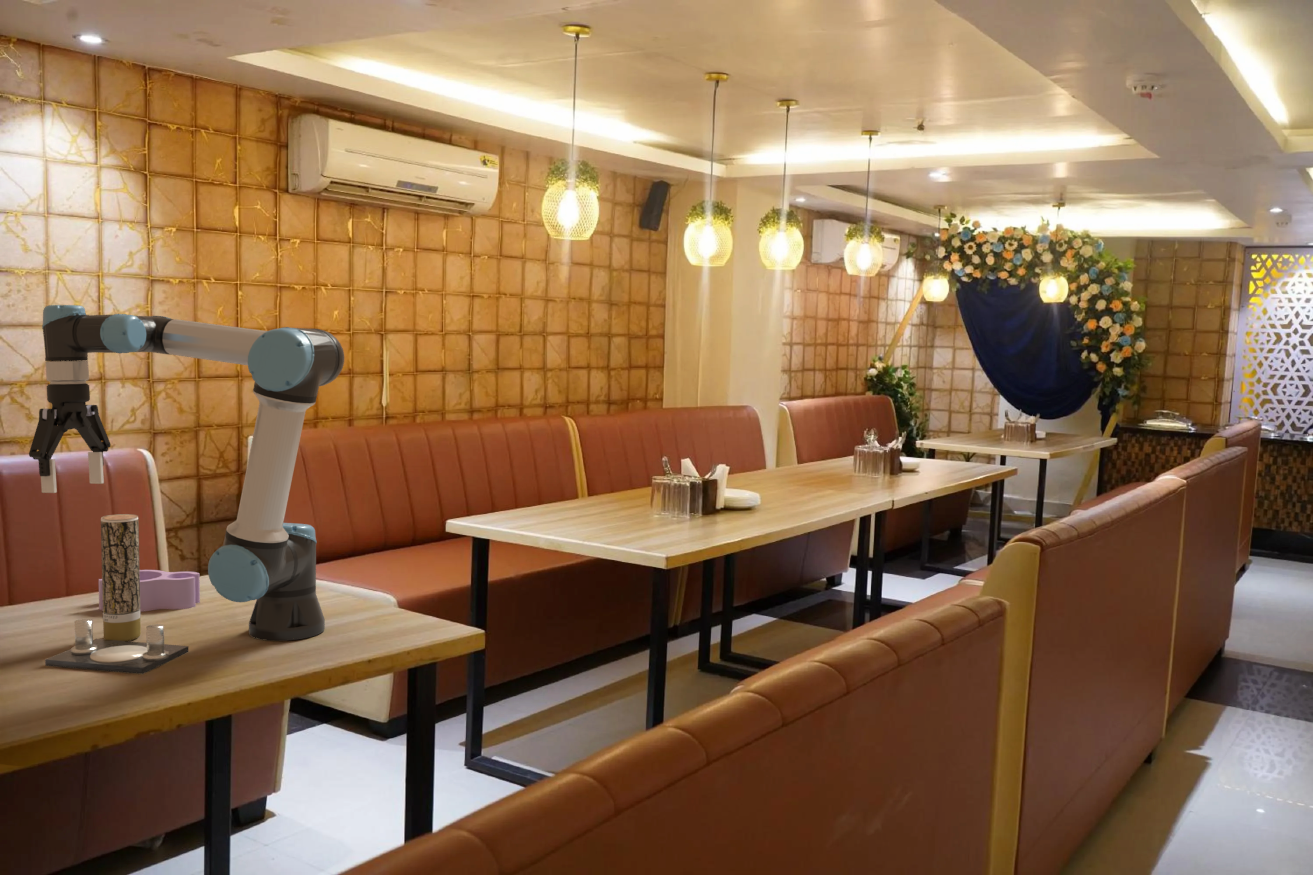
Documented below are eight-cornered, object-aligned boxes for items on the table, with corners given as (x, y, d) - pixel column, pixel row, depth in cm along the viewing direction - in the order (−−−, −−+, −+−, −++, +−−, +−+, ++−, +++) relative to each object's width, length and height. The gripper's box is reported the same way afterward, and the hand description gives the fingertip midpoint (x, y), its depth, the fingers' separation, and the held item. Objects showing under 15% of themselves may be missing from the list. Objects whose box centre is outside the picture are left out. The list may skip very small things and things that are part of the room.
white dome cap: (160, 648, 206) (160, 647, 206) (126, 664, 196) (126, 662, 196) (113, 645, 207) (113, 643, 207) (77, 660, 198) (77, 658, 198)
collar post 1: (102, 649, 205) (101, 618, 204) (86, 655, 200) (85, 624, 200) (82, 647, 205) (81, 617, 205) (65, 653, 201) (65, 622, 200)
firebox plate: (188, 652, 208) (188, 646, 208) (142, 674, 194) (142, 667, 194) (96, 644, 211) (96, 638, 211) (45, 665, 198) (45, 659, 198)
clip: (204, 598, 250) (204, 569, 249) (190, 612, 238) (189, 581, 237) (114, 599, 247) (113, 570, 246) (94, 613, 235) (93, 582, 234)
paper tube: (125, 644, 212) (122, 520, 210) (95, 641, 213) (92, 518, 211) (148, 635, 219) (145, 515, 216) (119, 632, 220) (116, 513, 218)
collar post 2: (173, 654, 202) (172, 624, 202) (159, 661, 198) (158, 630, 197) (152, 653, 203) (151, 622, 202) (137, 659, 199) (137, 628, 198)
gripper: (93, 380, 225) (99, 479, 227) (3, 385, 201) (10, 496, 203) (125, 380, 224) (130, 480, 226) (38, 385, 200) (45, 497, 202)
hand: (73, 488), depth 215 cm, fingers open, 13 cm apart
